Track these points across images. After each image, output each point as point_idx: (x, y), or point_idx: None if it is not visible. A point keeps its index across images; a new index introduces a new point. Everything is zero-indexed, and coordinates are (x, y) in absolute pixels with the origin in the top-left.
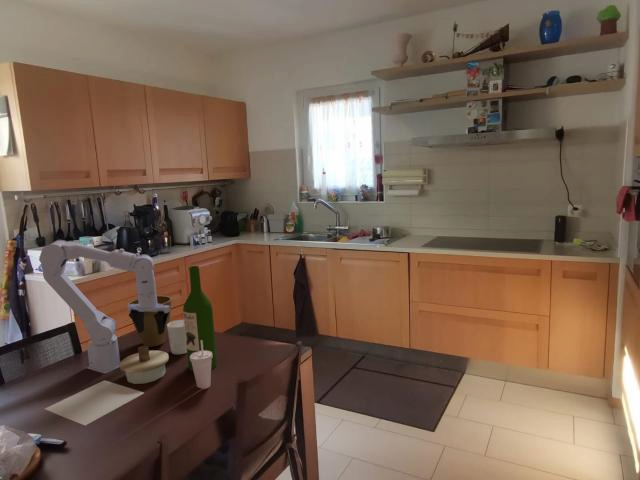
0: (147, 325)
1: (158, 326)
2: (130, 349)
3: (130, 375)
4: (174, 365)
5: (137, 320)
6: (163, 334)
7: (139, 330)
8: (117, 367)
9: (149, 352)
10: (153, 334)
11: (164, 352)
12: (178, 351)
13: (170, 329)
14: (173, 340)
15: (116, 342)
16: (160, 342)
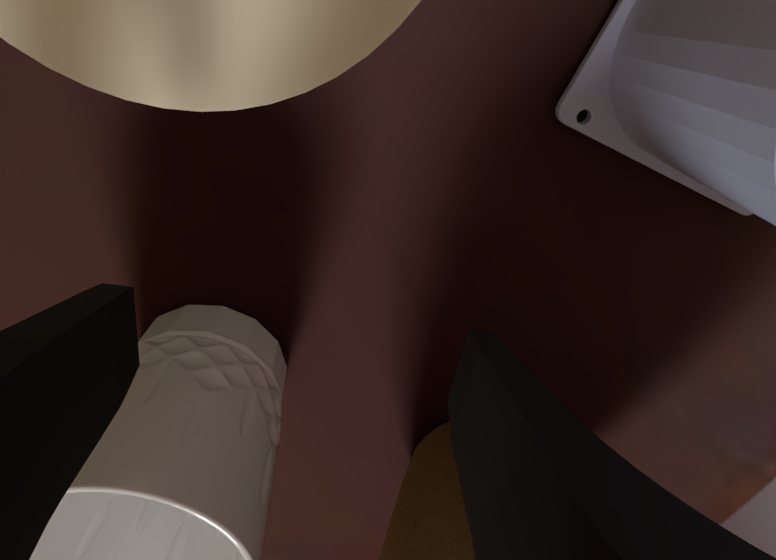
0: None
1: (10, 349)
2: (616, 378)
3: None
4: (93, 103)
5: (545, 497)
6: (396, 506)
7: (479, 347)
8: (613, 17)
9: (240, 45)
10: (454, 483)
11: (30, 44)
12: (182, 316)
13: (155, 469)
14: (179, 375)
15: (767, 118)
16: (419, 450)
